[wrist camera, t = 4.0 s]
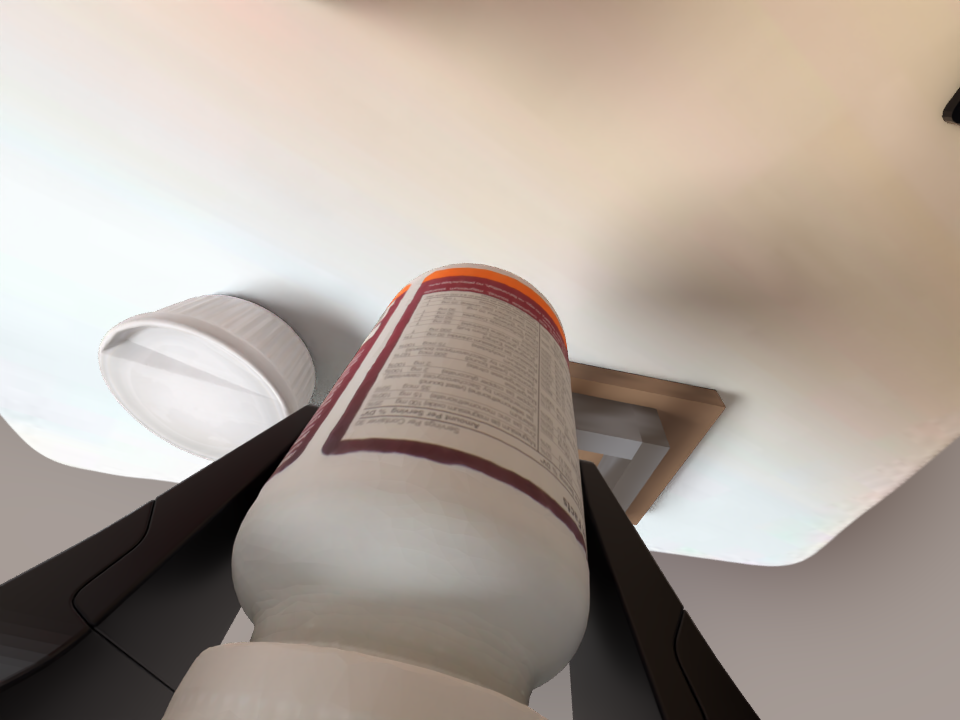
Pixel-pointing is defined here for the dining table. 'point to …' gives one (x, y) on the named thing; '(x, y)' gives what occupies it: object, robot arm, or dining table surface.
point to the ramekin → (207, 372)
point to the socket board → (638, 429)
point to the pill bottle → (417, 526)
